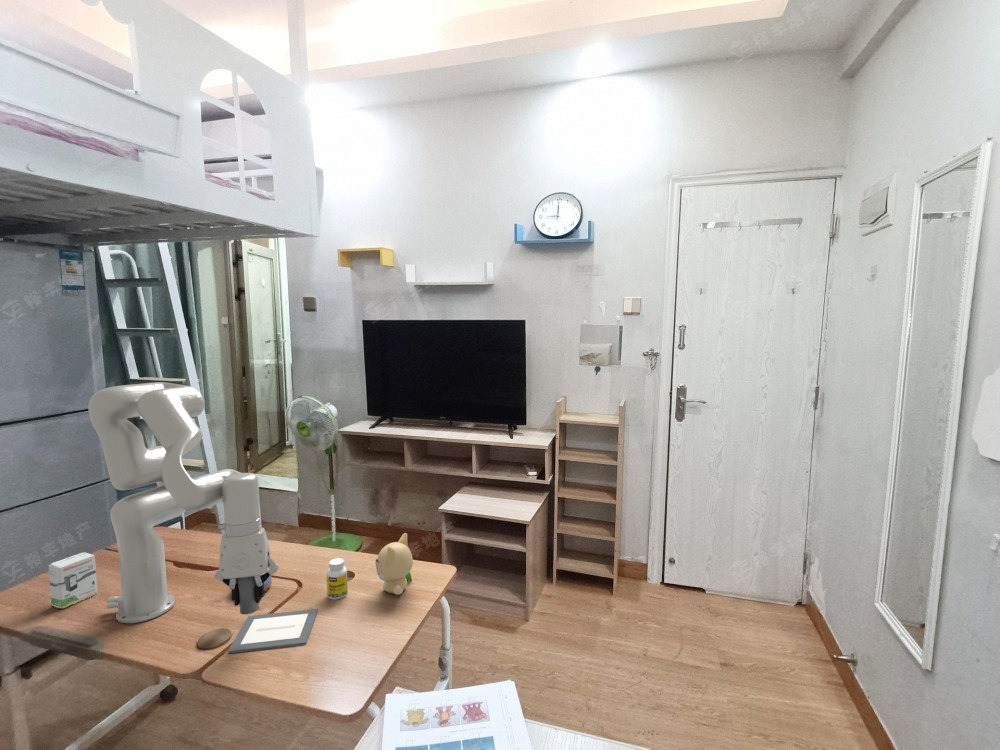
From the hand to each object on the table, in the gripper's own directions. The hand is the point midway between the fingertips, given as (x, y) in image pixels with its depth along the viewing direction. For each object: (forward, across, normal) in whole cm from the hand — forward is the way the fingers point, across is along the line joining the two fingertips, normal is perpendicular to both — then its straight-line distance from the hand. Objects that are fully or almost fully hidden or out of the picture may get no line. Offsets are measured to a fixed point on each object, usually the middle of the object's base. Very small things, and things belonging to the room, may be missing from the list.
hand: (248, 600), depth 114 cm
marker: (+2, 0, 0) cm, 2 cm away
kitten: (+10, +33, +16) cm, 39 cm away
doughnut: (+10, -7, +24) cm, 27 cm away
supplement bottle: (+10, +17, +16) cm, 26 cm away
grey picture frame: (+10, +5, +2) cm, 11 cm away
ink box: (+8, -54, +27) cm, 61 cm away
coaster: (+9, -9, +1) cm, 13 cm away
